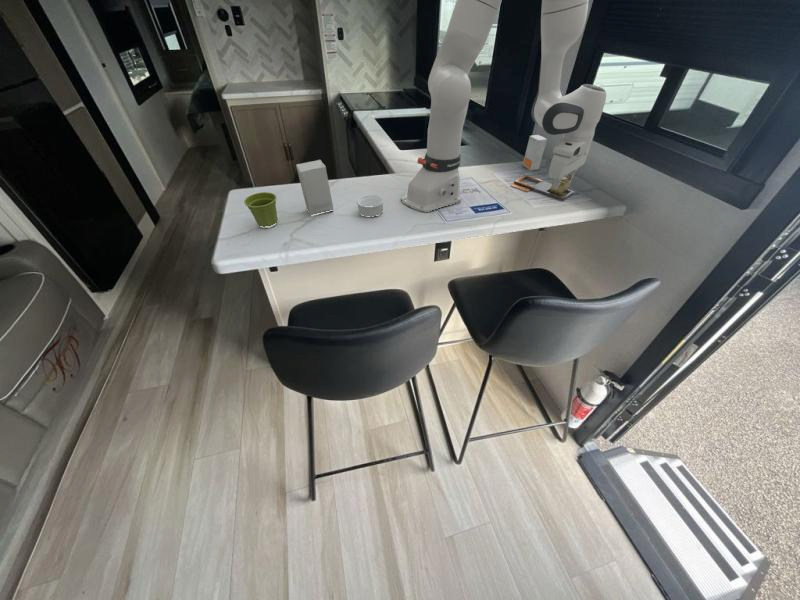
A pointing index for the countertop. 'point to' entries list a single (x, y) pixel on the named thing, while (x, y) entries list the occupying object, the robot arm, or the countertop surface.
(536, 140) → the skincare box
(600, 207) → the countertop surface
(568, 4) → the robot arm
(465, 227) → the countertop surface
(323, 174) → the skincare box
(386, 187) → the countertop surface
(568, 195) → the rail
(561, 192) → the yellow square block
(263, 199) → the plant pot
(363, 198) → the ramekin
